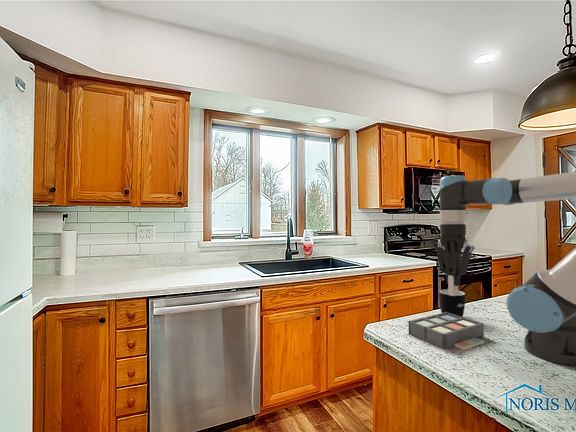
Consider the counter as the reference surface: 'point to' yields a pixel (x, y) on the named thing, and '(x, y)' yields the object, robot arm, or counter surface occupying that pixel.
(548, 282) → the robot arm
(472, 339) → the gray compartment tray
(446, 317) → the key
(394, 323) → the counter surface
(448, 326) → the orange square block
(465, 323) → the key
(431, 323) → the key
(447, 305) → the mug
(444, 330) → the key
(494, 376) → the counter surface
